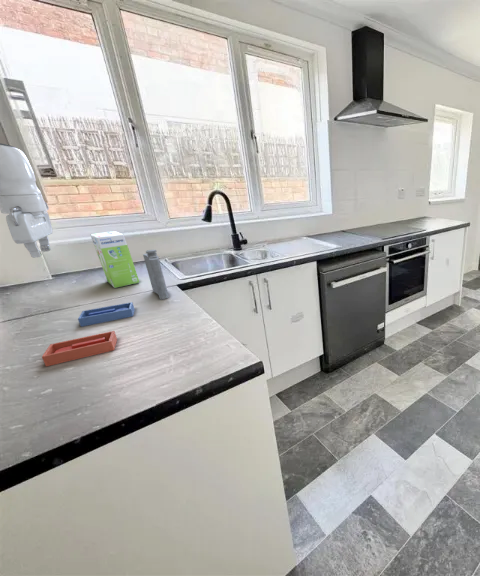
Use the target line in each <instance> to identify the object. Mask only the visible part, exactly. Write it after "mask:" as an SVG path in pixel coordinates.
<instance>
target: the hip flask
mask: <svg viewBox="0 0 480 576" xmlns="http://www.w3.org/2000/svg"><path fill="white" fill-rule="evenodd" d="M142 257H143V260H144V264H145V267H146V271H147V274H148V277H149V280H150V285H151V288H152V292H153V293H155V294H156V295H158V297H159V300H167V299H170V296H169V291H168V287H167V284H166V281H165V277H164V273H163V270H162V269H163V268H162V265H161V262H160V258H159V256H158V254H157V249H148V250H145V253H143V254H142Z"/></svg>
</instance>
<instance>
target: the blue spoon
mask: <svg viewBox="0 0 480 576" xmlns="http://www.w3.org/2000/svg"><path fill="white" fill-rule="evenodd" d="M125 309H128V308H121V309H117V310H115V309H109V310H104V311H98V312H93V313H89V316H93V315H98V314H104V313H109V312H114V311H120V310H125Z"/></svg>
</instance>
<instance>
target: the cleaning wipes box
mask: <svg viewBox="0 0 480 576" xmlns="http://www.w3.org/2000/svg"><path fill="white" fill-rule="evenodd" d="M90 238H91V240H92V243H93V246H94V248H95V251H96V254H97V257H98V260H99V262H100V265H101V268H102V271H103V273H104V277H105V279H106V282H107V283H108V284H109V285H111V286H112V287H113V288H114V289H117V288H121V287H122V288H123V287H127V286H130V285H135V284H139V283H140V279H139V275H138V273H137V270H136V267H135V264H134V261H133V258H132V255H131V252H130V249H129V246H128V242H127V239H126V236H125V234H123V233H121V232H118V231H116V230H114V231H113V230H112V231H105V232H97V233H91V234H90Z"/></svg>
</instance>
